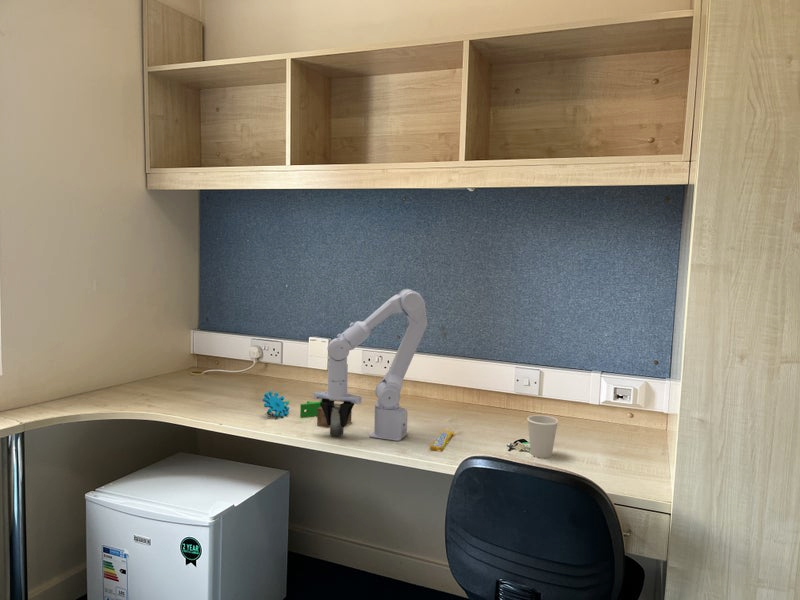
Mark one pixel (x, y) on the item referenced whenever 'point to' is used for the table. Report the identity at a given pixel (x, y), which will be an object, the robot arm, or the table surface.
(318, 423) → the socket
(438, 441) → the candy bar
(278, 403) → the gear
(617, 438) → the table surface
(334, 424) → the peg
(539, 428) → the dixie cup
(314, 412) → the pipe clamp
